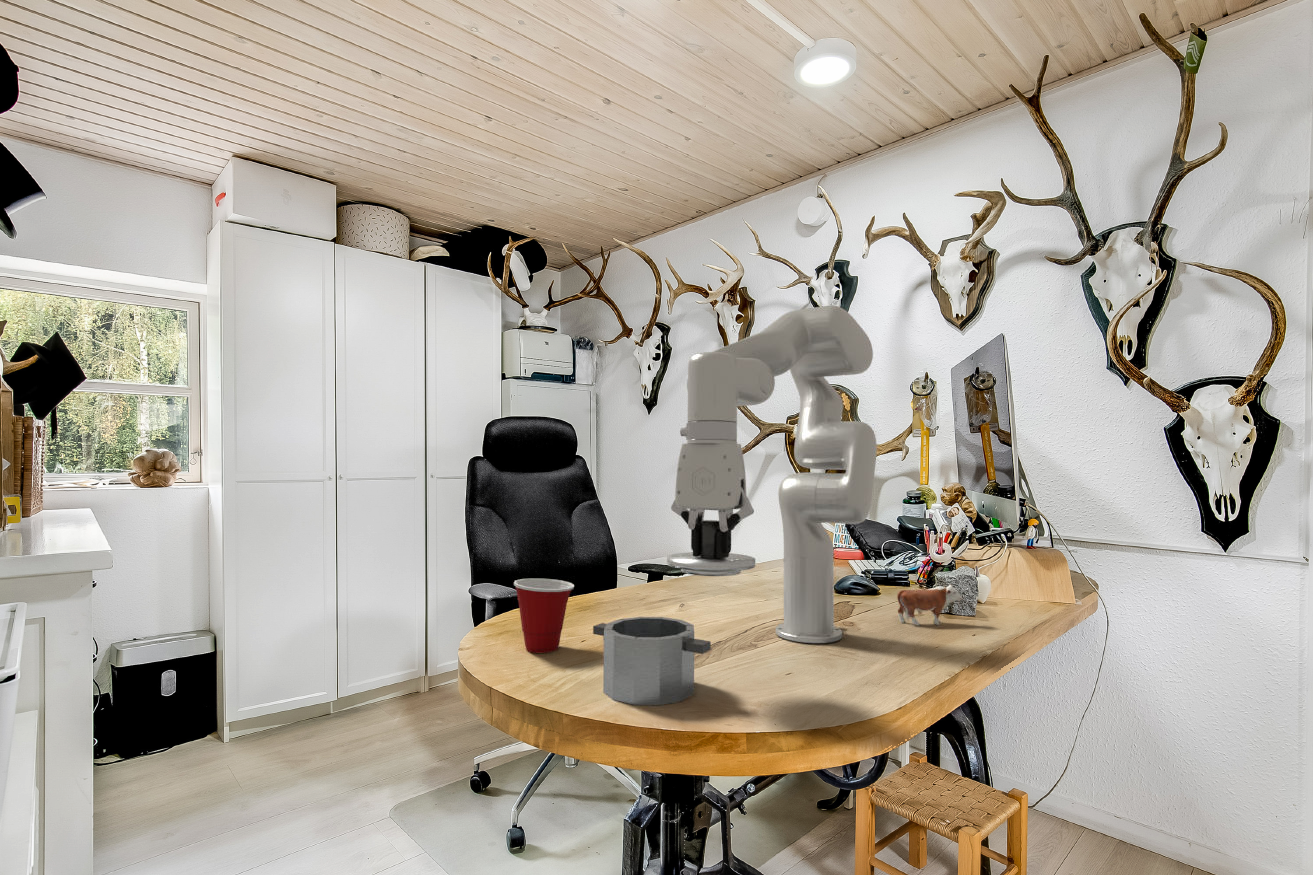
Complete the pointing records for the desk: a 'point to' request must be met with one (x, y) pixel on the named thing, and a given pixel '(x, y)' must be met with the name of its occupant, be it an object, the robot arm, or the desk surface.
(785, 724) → the desk surface
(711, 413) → the robot arm
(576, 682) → the desk surface
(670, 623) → the pot
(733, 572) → the lid
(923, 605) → the bull figurine
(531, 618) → the plastic cup
